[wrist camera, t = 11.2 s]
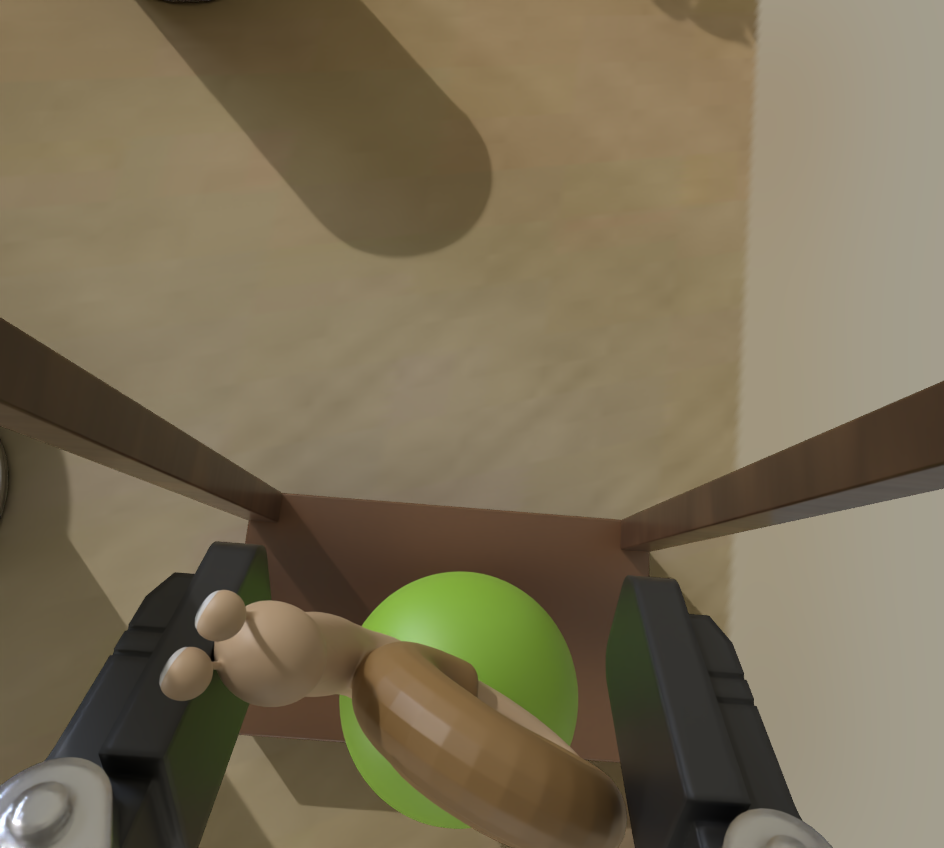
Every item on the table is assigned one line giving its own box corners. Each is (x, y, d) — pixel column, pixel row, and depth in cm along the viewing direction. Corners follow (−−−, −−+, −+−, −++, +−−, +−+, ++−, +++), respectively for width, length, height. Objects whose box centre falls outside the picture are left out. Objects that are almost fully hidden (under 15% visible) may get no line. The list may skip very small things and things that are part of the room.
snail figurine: (383, 525, 19) (307, 408, 8) (588, 632, 19) (833, 680, 7) (282, 709, 18) (6, 904, 6) (500, 830, 17) (630, 1278, 6)
